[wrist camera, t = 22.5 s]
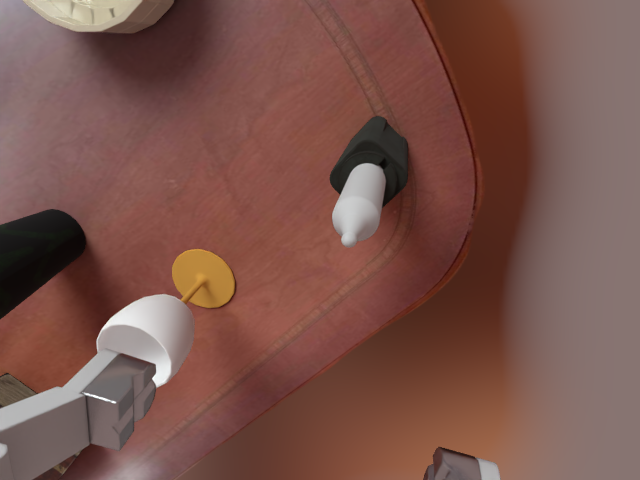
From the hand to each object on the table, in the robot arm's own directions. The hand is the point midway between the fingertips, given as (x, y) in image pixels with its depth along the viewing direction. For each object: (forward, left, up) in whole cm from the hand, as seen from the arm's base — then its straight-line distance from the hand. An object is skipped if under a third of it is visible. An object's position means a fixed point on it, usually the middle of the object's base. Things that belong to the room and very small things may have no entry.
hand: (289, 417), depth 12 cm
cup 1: (+45, 0, -37) cm, 58 cm away
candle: (0, 0, -37) cm, 37 cm away
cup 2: (+27, +11, -37) cm, 47 cm away
